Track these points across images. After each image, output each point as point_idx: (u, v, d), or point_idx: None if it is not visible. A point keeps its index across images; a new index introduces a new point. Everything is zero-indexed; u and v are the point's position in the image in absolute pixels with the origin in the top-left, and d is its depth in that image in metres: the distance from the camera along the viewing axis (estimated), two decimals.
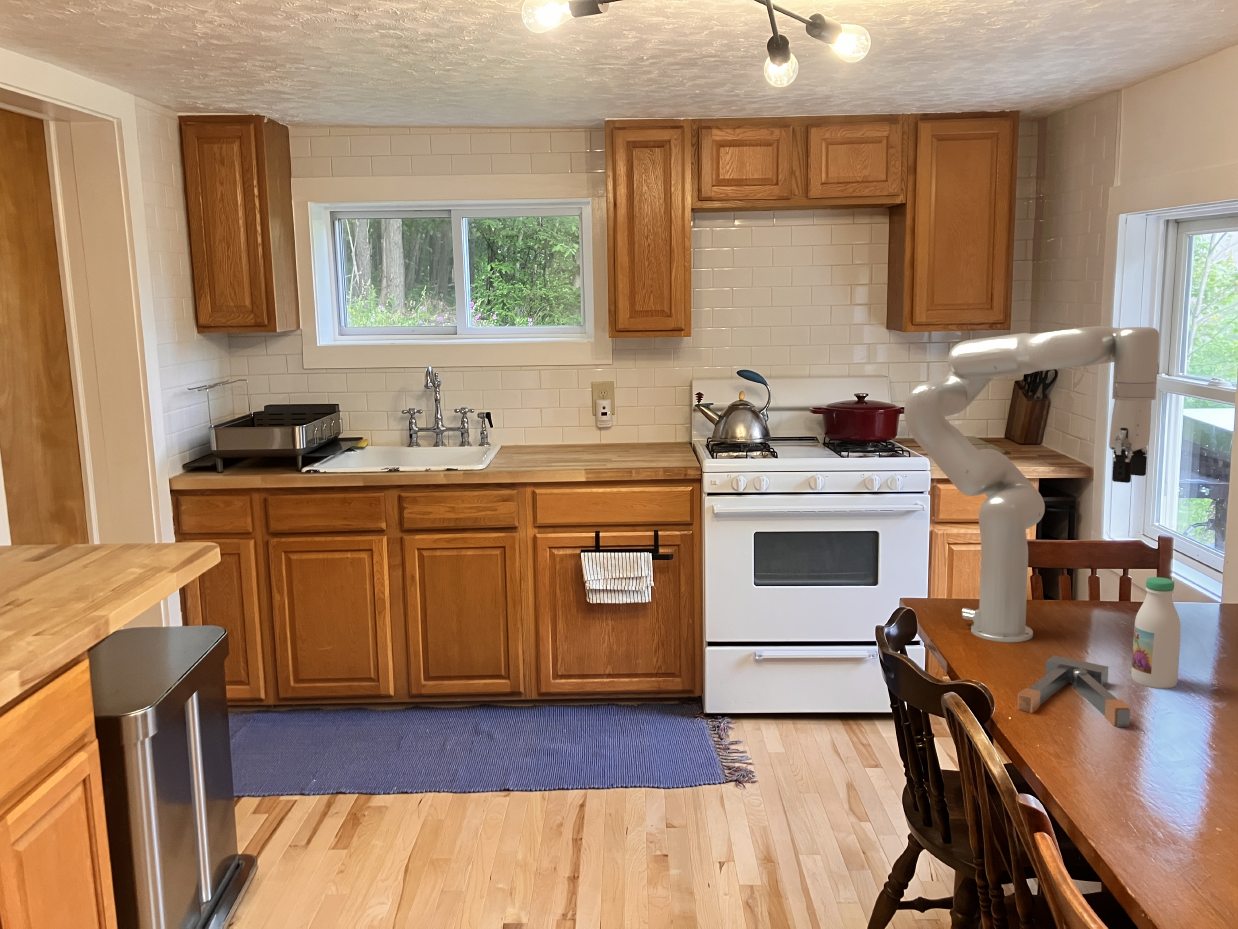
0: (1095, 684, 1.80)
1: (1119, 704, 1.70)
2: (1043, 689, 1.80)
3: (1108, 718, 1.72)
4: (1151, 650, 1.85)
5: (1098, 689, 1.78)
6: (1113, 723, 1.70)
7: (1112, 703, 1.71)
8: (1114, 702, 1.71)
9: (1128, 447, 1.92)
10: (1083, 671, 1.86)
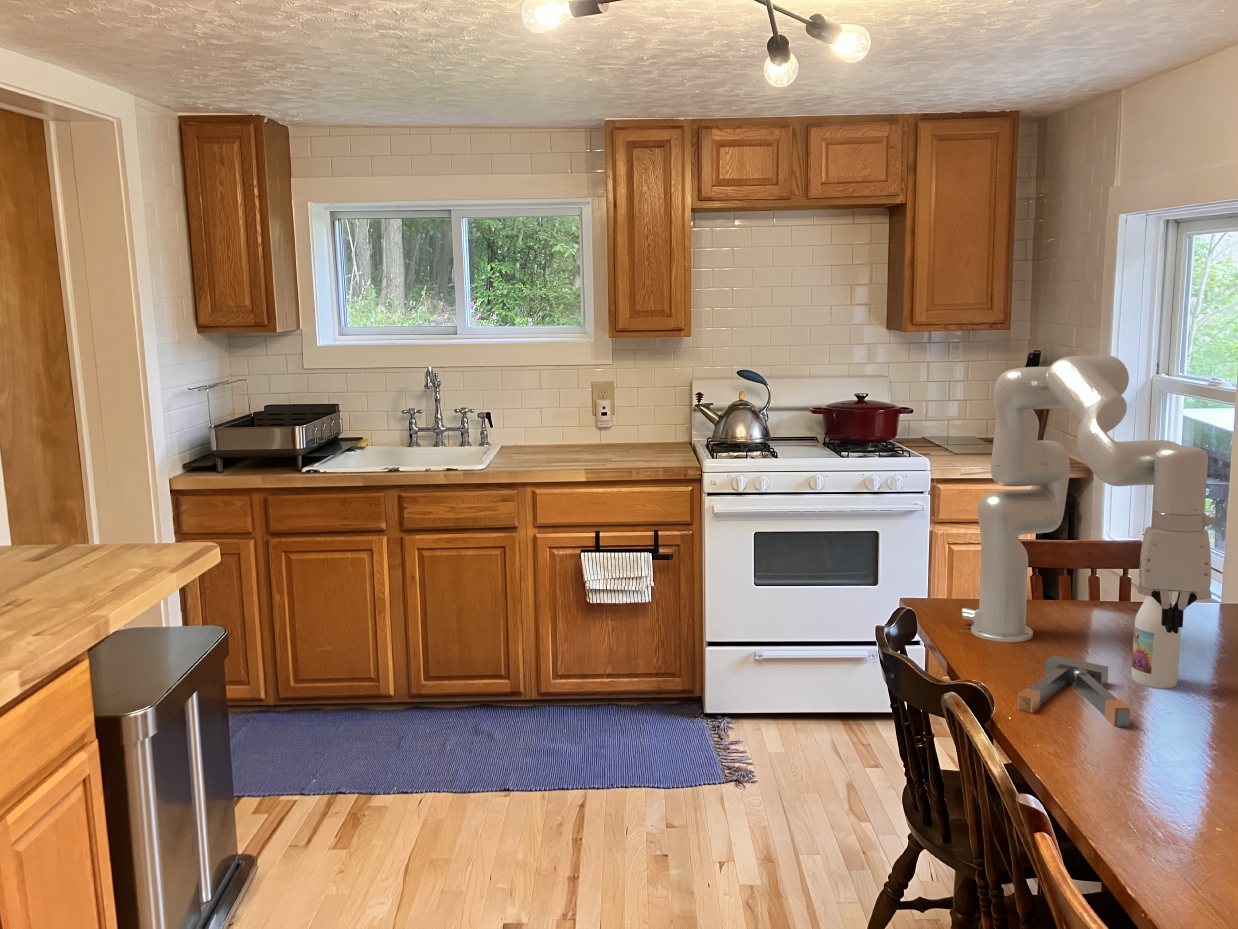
0: (1095, 684, 1.80)
1: (1119, 704, 1.70)
2: (1043, 689, 1.80)
3: (1108, 718, 1.72)
4: (1151, 650, 1.85)
5: (1098, 689, 1.78)
6: (1113, 723, 1.70)
7: (1112, 703, 1.71)
8: (1114, 702, 1.71)
9: (1159, 591, 1.65)
10: (1083, 671, 1.86)
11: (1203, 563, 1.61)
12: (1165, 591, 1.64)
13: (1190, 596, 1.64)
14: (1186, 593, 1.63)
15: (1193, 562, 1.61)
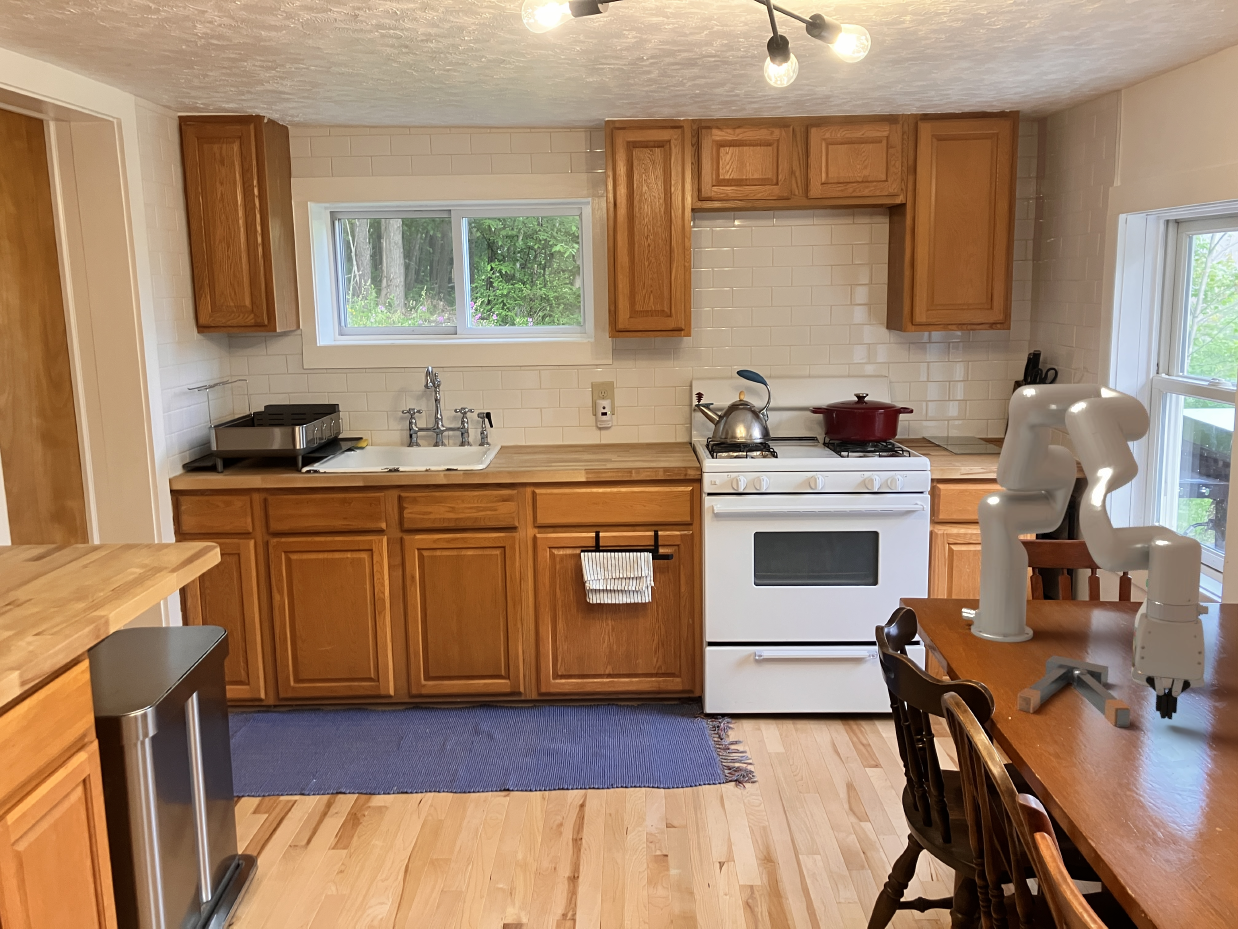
0: (1095, 684, 1.80)
1: (1119, 704, 1.70)
2: (1043, 689, 1.80)
3: (1108, 718, 1.72)
4: None
5: (1098, 689, 1.78)
6: (1113, 723, 1.70)
7: (1112, 703, 1.71)
8: (1114, 702, 1.71)
9: (1154, 677, 1.68)
10: (1083, 671, 1.86)
11: (1197, 652, 1.63)
12: (1159, 678, 1.67)
13: (1184, 683, 1.66)
14: (1180, 680, 1.66)
15: (1187, 651, 1.64)
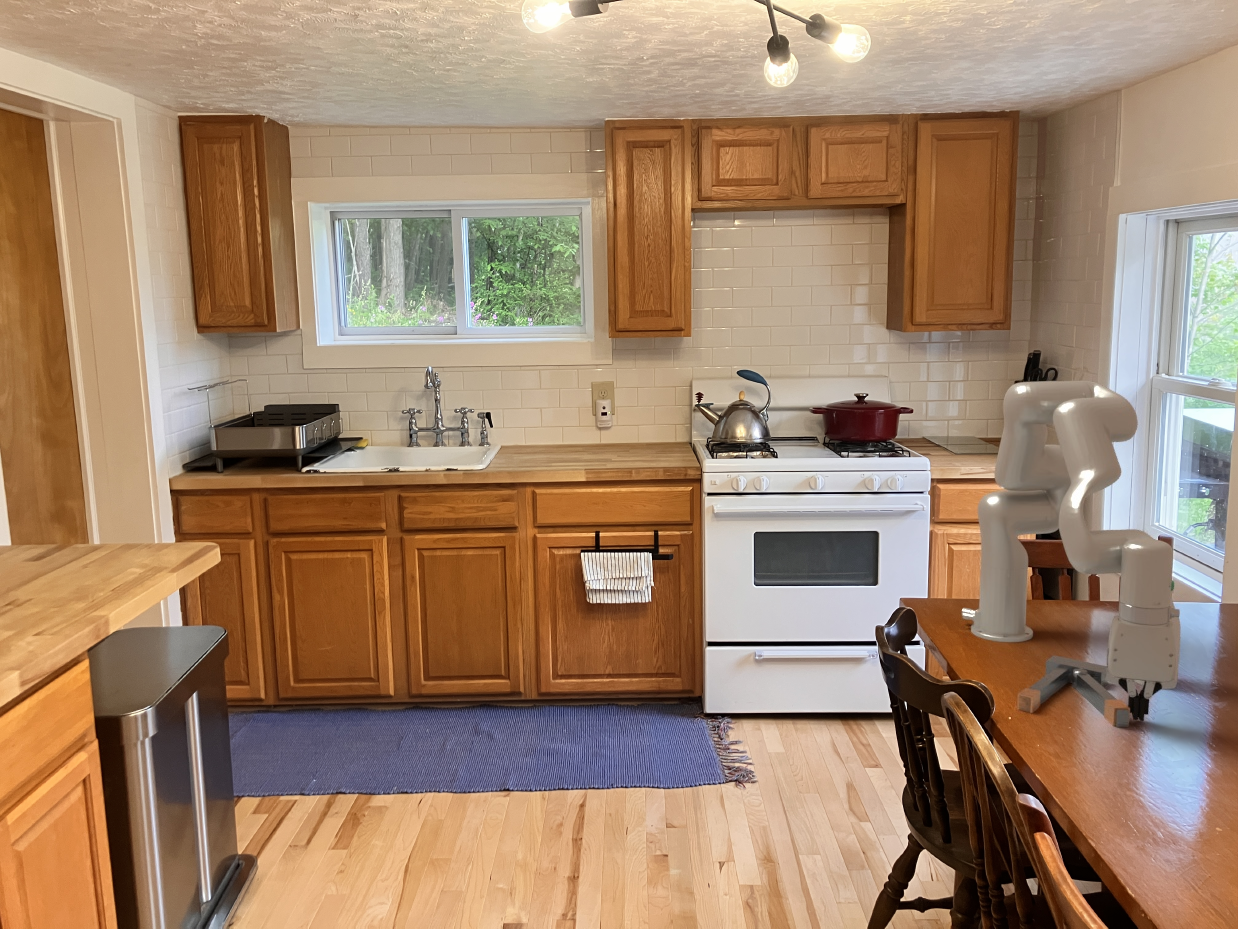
0: (1095, 684, 1.80)
1: (1118, 704, 1.70)
2: (1043, 689, 1.80)
3: (1107, 718, 1.72)
4: None
5: (1097, 689, 1.78)
6: (1112, 723, 1.70)
7: (1111, 703, 1.71)
8: (1114, 702, 1.71)
9: (1126, 679, 1.69)
10: (1083, 671, 1.86)
11: (1168, 655, 1.65)
12: (1131, 680, 1.69)
13: (1155, 685, 1.68)
14: (1152, 682, 1.67)
15: (1158, 653, 1.65)
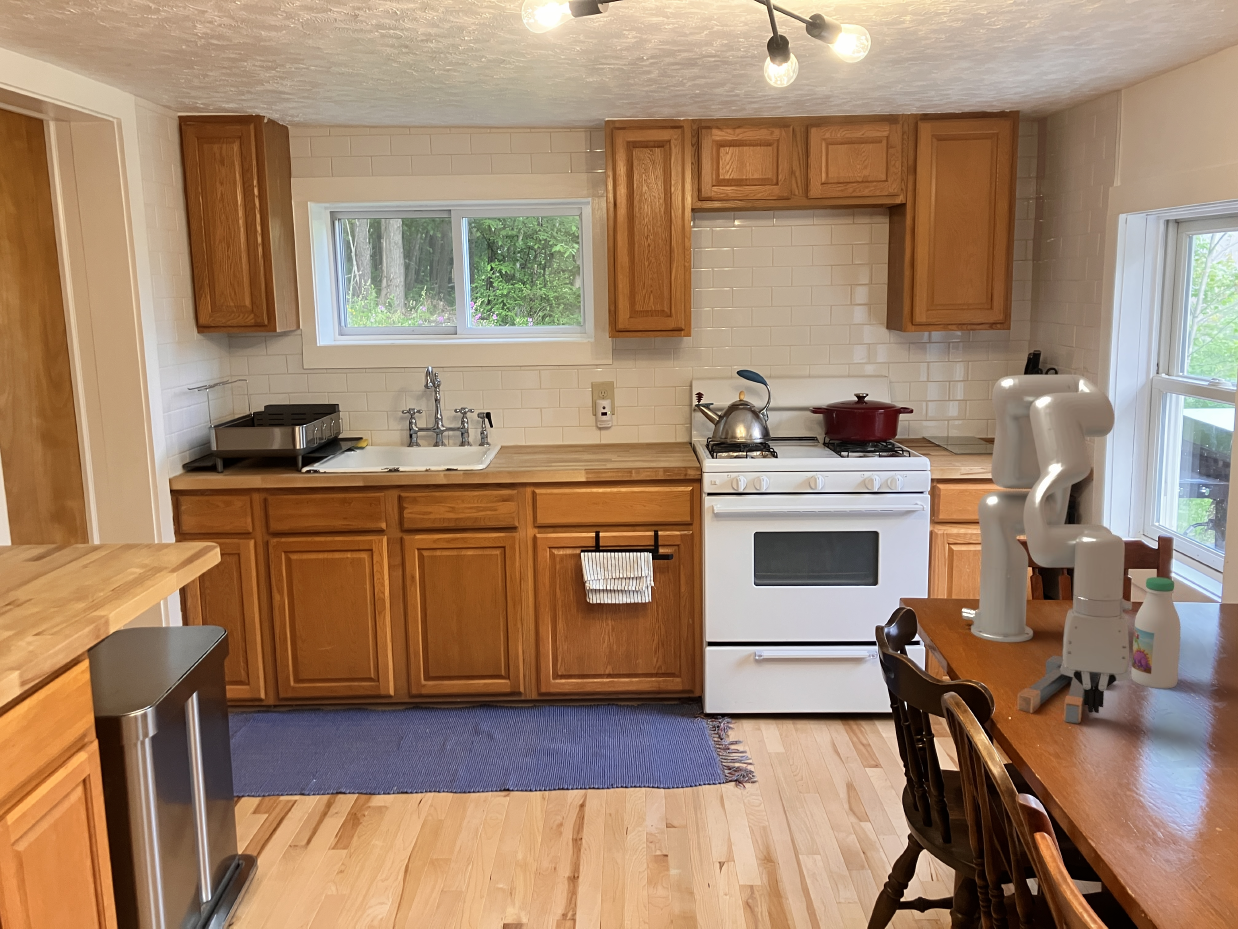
0: (1078, 683, 1.81)
1: (1073, 701, 1.72)
2: (1043, 689, 1.80)
3: None
4: (1151, 650, 1.85)
5: (1074, 687, 1.79)
6: (1064, 718, 1.72)
7: (1068, 699, 1.73)
8: (1072, 698, 1.73)
9: (1081, 672, 1.71)
10: None
11: (1121, 646, 1.67)
12: (1086, 672, 1.70)
13: (1110, 677, 1.70)
14: (1106, 675, 1.69)
15: (1111, 645, 1.68)
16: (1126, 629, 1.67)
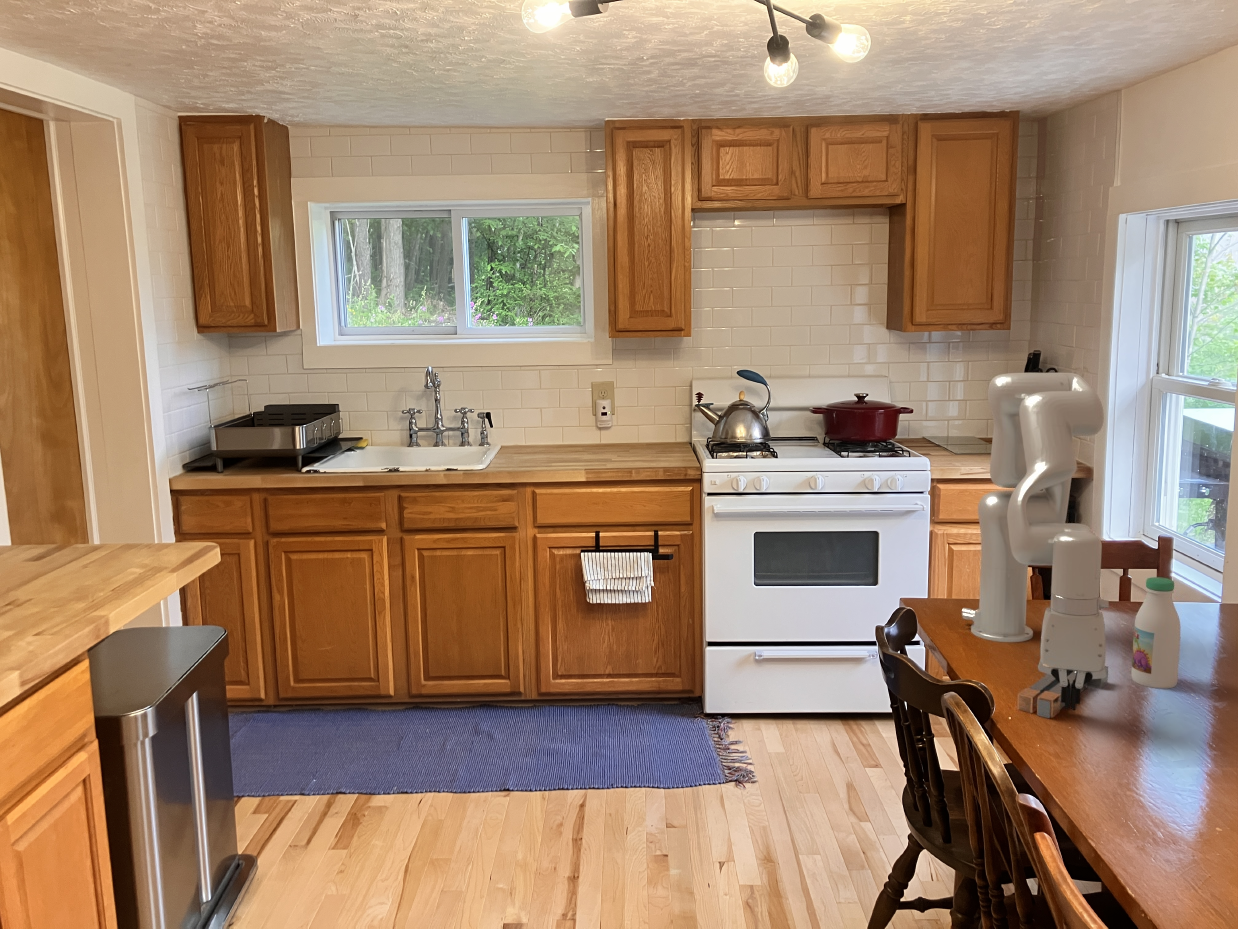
0: (1069, 681, 1.82)
1: (1048, 696, 1.74)
2: (1043, 689, 1.80)
3: None
4: (1151, 650, 1.85)
5: None
6: (1037, 712, 1.75)
7: (1044, 694, 1.75)
8: (1048, 694, 1.75)
9: (1058, 669, 1.73)
10: None
11: (1097, 645, 1.69)
12: (1063, 670, 1.72)
13: (1086, 675, 1.71)
14: (1082, 672, 1.71)
15: (1088, 643, 1.69)
16: (1102, 627, 1.69)
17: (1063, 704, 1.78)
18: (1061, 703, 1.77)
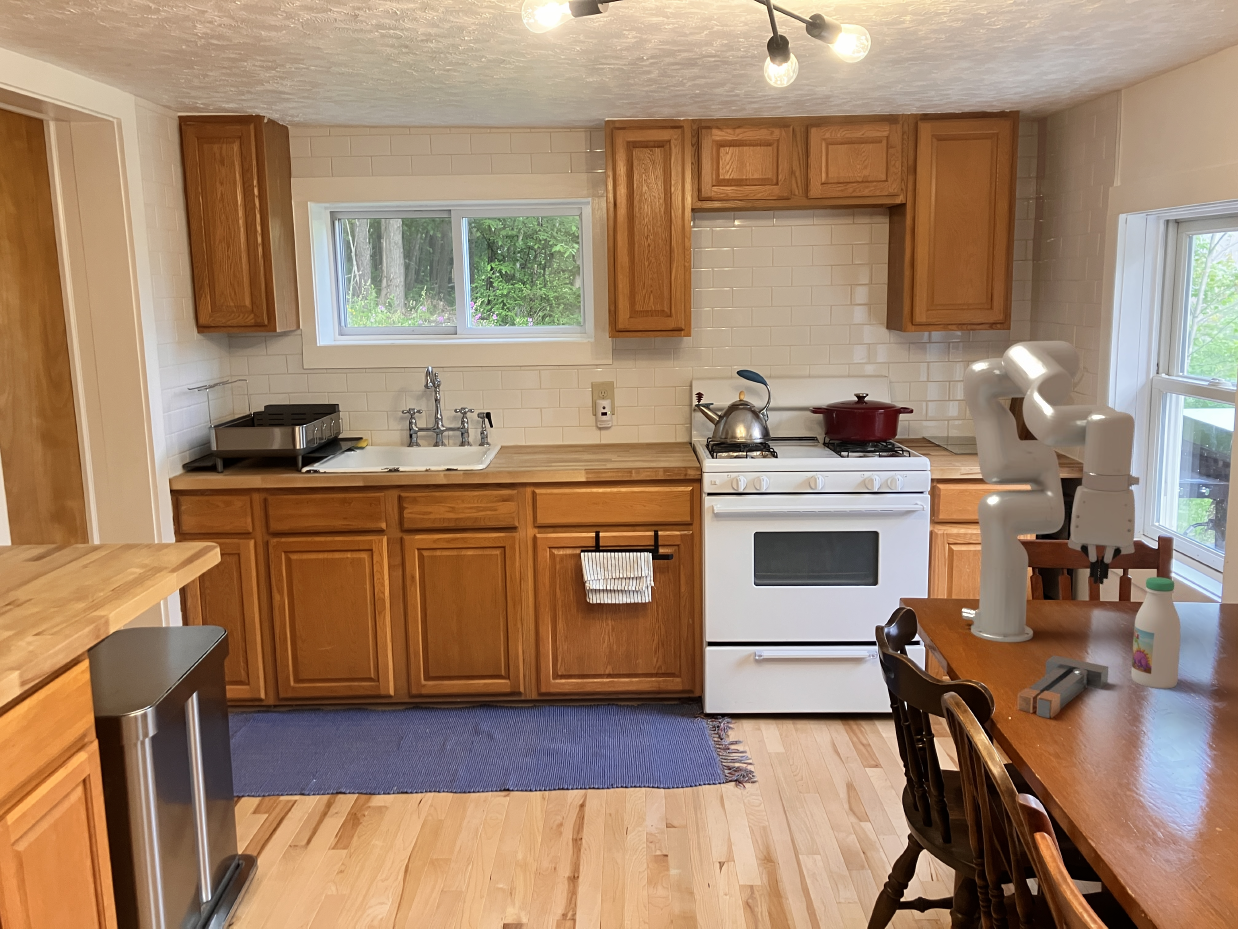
0: (1068, 681, 1.82)
1: (1048, 696, 1.75)
2: (1043, 689, 1.80)
3: None
4: (1151, 650, 1.85)
5: (1061, 684, 1.80)
6: None
7: (1043, 694, 1.76)
8: (1048, 694, 1.76)
9: (1087, 545, 1.78)
10: (1082, 671, 1.86)
11: (1127, 520, 1.74)
12: (1092, 545, 1.77)
13: (1115, 550, 1.77)
14: (1111, 547, 1.76)
15: (1118, 519, 1.74)
16: (1133, 503, 1.74)
17: (1063, 704, 1.78)
18: (1061, 703, 1.77)
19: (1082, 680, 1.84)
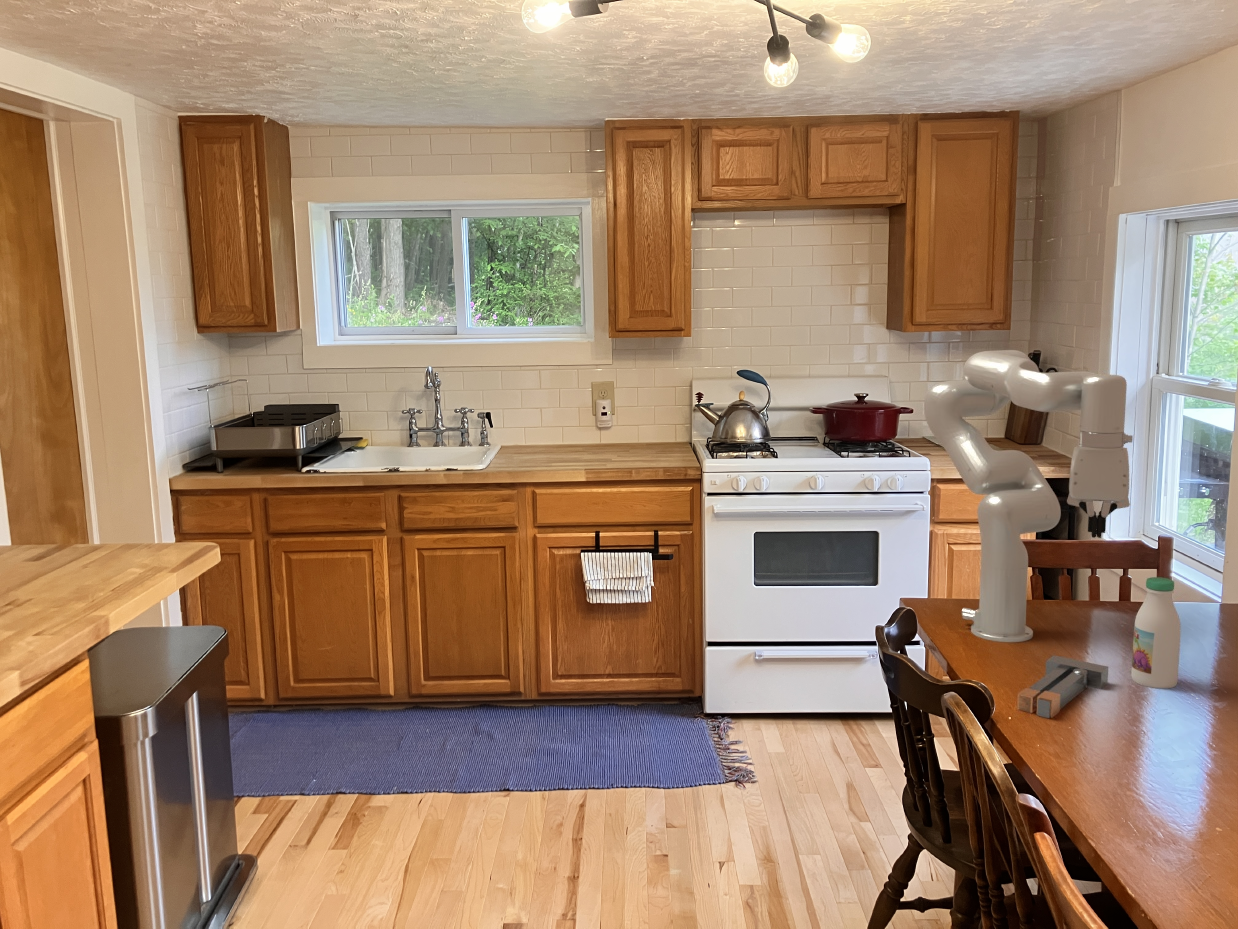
0: (1068, 681, 1.82)
1: (1048, 696, 1.75)
2: (1043, 689, 1.80)
3: None
4: (1151, 650, 1.85)
5: (1061, 684, 1.80)
6: None
7: (1043, 694, 1.76)
8: (1048, 694, 1.76)
9: None
10: (1082, 671, 1.86)
11: (1122, 475, 1.86)
12: (1090, 501, 1.89)
13: (1111, 505, 1.88)
14: (1108, 502, 1.88)
15: (1113, 474, 1.86)
16: (1127, 459, 1.85)
17: (1063, 704, 1.78)
18: (1061, 703, 1.77)
19: (1082, 680, 1.84)
